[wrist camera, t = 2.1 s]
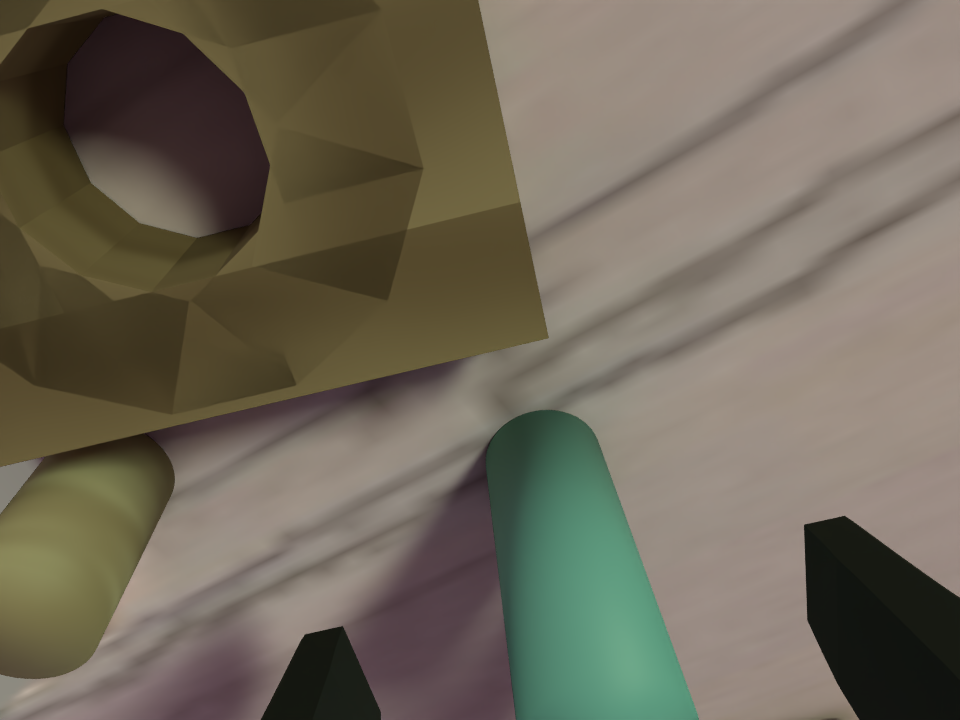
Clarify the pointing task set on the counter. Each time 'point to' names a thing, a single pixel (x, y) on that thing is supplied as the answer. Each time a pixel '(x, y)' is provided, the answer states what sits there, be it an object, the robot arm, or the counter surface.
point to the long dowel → (575, 582)
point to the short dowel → (75, 550)
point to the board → (259, 222)
